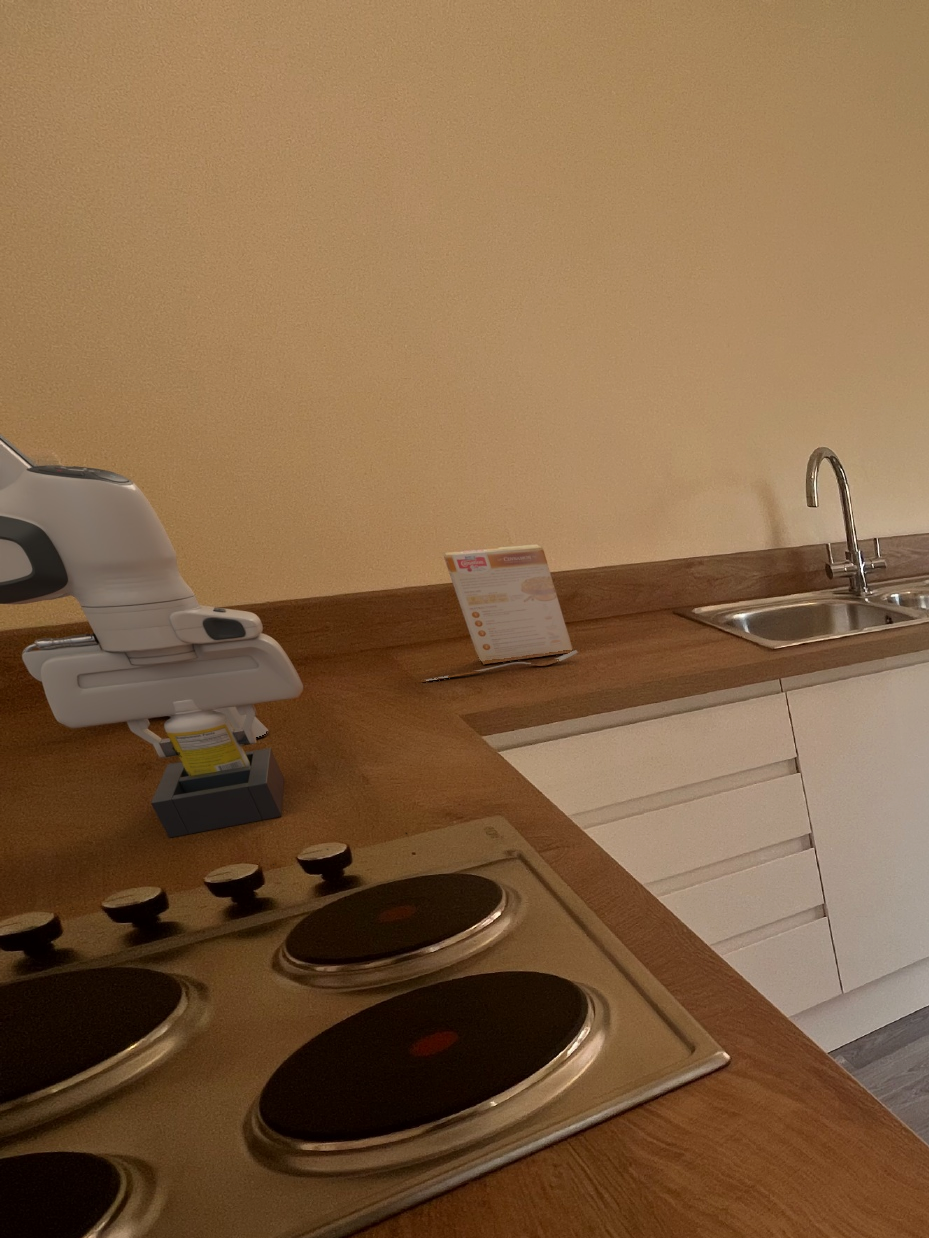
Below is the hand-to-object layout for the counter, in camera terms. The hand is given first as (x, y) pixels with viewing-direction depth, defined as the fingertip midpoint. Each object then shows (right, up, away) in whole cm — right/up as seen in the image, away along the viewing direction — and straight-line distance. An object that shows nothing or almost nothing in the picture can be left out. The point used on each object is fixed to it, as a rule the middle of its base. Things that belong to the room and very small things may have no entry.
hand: (210, 749), depth 109 cm
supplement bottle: (0, -3, +2) cm, 4 cm away
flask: (-21, +5, +24) cm, 32 cm away
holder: (+2, -6, 0) cm, 7 cm away
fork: (-9, +22, +60) cm, 65 cm away
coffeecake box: (-12, +27, +71) cm, 77 cm away
